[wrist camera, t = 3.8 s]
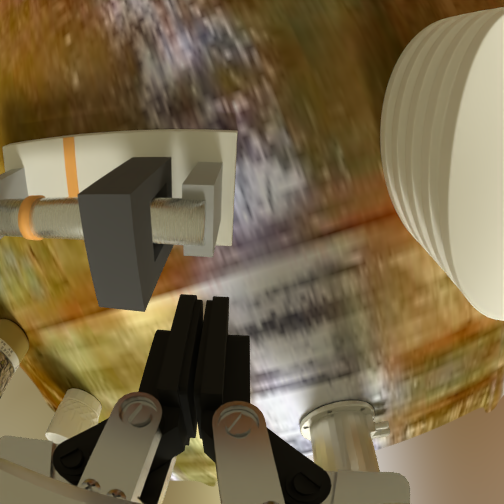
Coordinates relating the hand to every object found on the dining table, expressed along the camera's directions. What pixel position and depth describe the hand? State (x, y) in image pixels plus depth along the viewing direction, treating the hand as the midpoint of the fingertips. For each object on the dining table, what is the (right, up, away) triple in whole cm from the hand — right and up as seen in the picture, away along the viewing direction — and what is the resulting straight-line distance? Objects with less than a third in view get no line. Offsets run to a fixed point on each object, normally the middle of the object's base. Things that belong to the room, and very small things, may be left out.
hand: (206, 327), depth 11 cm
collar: (-6, +6, +12) cm, 15 cm away
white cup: (-27, -23, +33) cm, 49 cm away
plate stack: (+27, +14, +14) cm, 33 cm away
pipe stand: (-12, +9, +16) cm, 22 cm away
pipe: (-12, +6, +10) cm, 17 cm away
